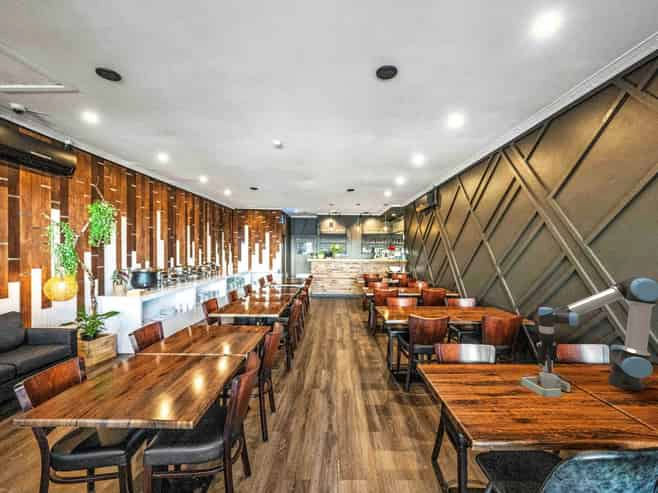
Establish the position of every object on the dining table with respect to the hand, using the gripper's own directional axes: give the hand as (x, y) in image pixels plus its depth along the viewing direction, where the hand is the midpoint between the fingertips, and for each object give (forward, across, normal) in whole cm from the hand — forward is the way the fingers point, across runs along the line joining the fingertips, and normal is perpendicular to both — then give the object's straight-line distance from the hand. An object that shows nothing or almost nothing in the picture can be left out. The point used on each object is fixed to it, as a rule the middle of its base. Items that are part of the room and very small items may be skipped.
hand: (547, 370), depth 183 cm
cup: (+6, +8, +11) cm, 15 cm away
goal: (+6, +16, +11) cm, 20 cm away
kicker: (+6, 0, +6) cm, 8 cm away
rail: (+6, +4, 0) cm, 7 cm away
